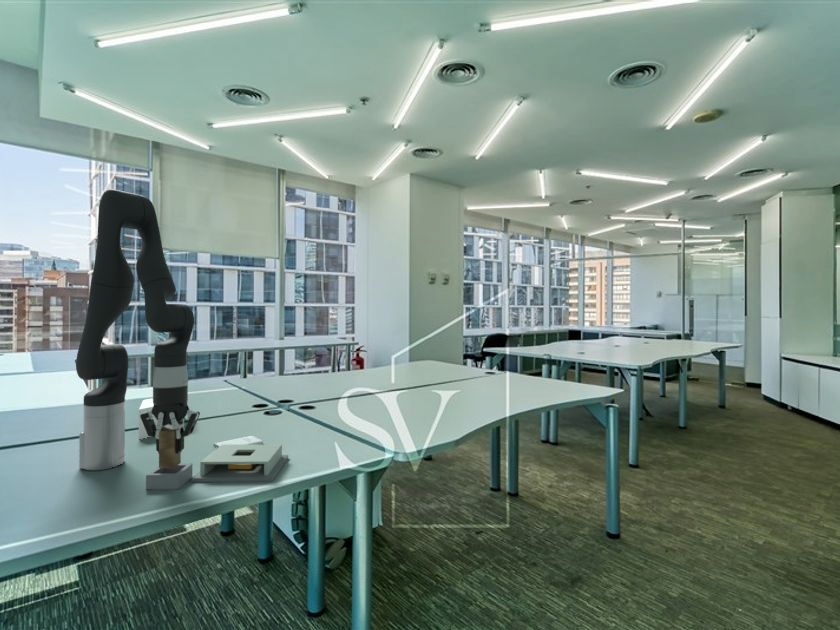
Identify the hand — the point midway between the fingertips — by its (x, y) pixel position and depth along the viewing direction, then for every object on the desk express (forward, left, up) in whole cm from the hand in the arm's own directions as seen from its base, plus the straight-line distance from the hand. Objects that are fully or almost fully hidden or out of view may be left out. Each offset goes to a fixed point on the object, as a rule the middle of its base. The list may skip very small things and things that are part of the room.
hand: (170, 452), depth 108 cm
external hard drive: (+6, +30, -9) cm, 32 cm away
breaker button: (+15, +9, -7) cm, 19 cm away
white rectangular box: (-27, +50, -8) cm, 58 cm away
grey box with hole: (+15, +9, -8) cm, 19 cm away
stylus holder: (0, 0, -8) cm, 8 cm away
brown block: (0, 0, -3) cm, 3 cm away
